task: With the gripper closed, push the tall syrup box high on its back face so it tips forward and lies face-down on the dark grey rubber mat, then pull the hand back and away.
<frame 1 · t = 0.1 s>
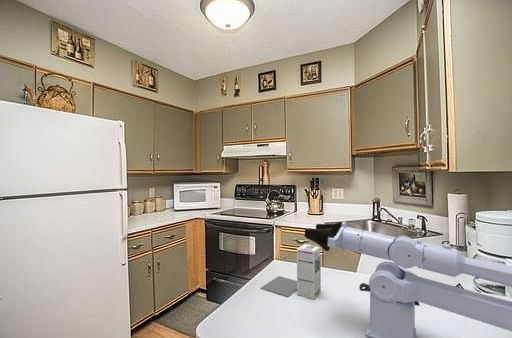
hand: (310, 230, 72), 22 cm above the counter, tool horizontal, fingers open, 7 cm apart
syrup box: (308, 294, 81), on the counter
bracket: (384, 294, 83), on the counter
mat: (283, 286, 86), on the counter
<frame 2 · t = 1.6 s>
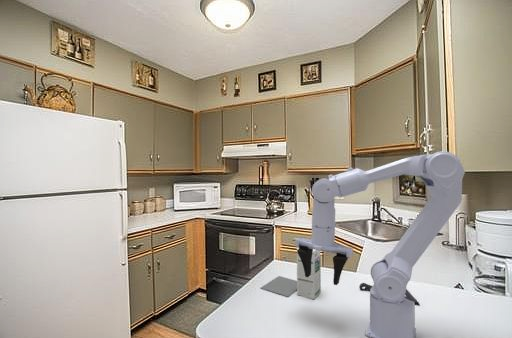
hand: (321, 279, 66), 10 cm above the counter, tool pointing down, fingers open, 7 cm apart
nothing on the counter moved.
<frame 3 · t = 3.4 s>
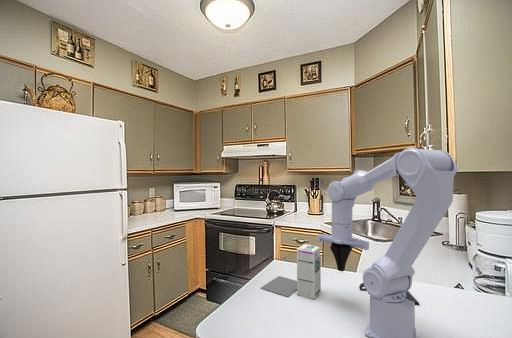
hand: (341, 270, 75), 10 cm above the counter, tool pointing down, fingers closed
nothing on the counter moved.
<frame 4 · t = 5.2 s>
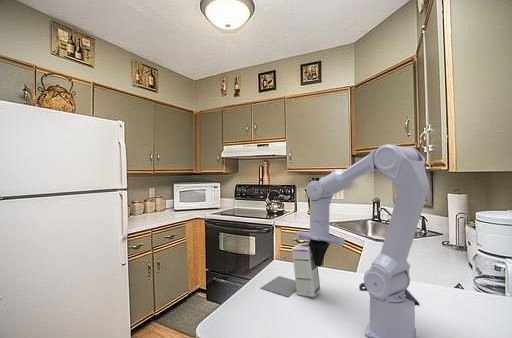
hand: (318, 265, 79), 9 cm above the counter, tool pointing down, fingers closed
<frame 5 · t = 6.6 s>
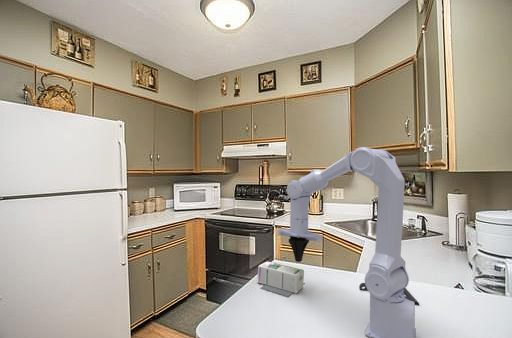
hand: (298, 260, 83), 9 cm above the counter, tool pointing down, fingers closed
syrup box: (301, 282, 82), point 3 cm above the counter, touching mat
everything else where it was.
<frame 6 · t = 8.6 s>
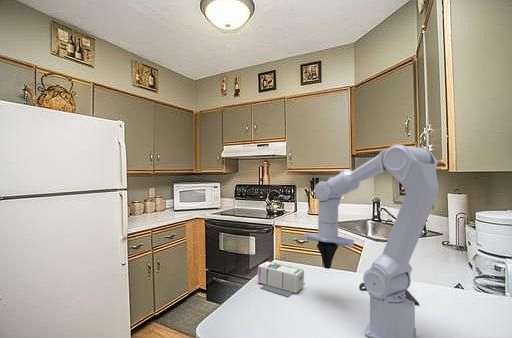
hand: (327, 267, 77), 9 cm above the counter, tool pointing down, fingers closed
nothing on the counter moved.
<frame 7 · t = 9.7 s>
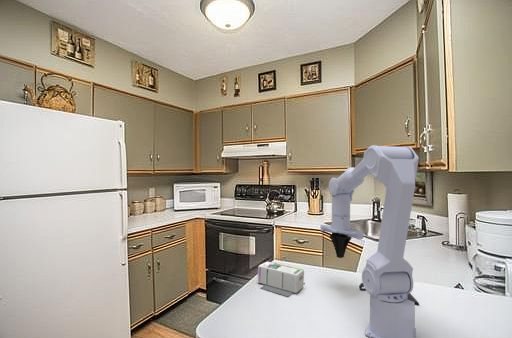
hand: (340, 257, 84), 10 cm above the counter, tool pointing down, fingers closed
nothing on the counter moved.
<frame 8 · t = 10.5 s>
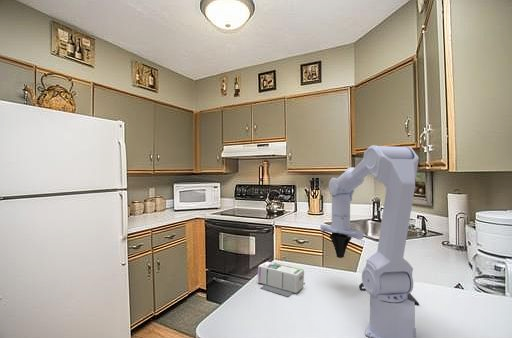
hand: (340, 257, 84), 10 cm above the counter, tool pointing down, fingers closed
nothing on the counter moved.
at the end: syrup box tilted 89°; syrup box touching mat; syrup box inside the target area (6.5 cm from its centre), point 3.1 cm above the counter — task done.
